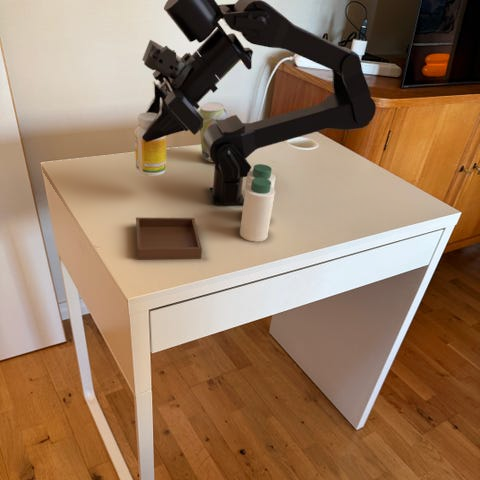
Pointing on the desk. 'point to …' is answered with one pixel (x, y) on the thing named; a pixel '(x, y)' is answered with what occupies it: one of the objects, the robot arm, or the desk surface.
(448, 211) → the desk surface
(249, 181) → the white bottle
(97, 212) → the desk surface
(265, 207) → the white bottle
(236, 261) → the desk surface
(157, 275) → the desk surface
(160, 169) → the supplement bottle
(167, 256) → the tray
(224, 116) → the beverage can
